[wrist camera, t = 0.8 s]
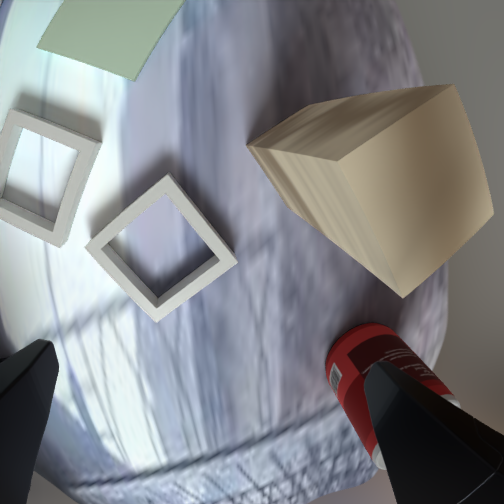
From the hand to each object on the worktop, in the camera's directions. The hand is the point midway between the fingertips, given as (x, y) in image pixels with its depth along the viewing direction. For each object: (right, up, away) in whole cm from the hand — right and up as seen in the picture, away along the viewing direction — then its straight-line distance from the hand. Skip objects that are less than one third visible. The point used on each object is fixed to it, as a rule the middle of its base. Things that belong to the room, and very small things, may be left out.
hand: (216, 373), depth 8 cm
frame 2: (-5, +3, +13) cm, 14 cm away
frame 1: (-13, +8, +9) cm, 18 cm away
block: (+4, +9, +12) cm, 16 cm away
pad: (-8, +19, +7) cm, 21 cm away
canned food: (+11, -6, +20) cm, 24 cm away
